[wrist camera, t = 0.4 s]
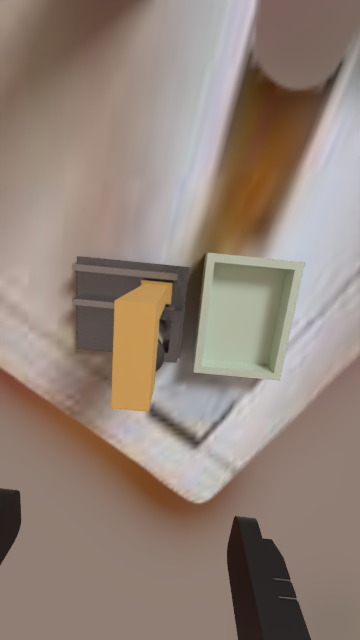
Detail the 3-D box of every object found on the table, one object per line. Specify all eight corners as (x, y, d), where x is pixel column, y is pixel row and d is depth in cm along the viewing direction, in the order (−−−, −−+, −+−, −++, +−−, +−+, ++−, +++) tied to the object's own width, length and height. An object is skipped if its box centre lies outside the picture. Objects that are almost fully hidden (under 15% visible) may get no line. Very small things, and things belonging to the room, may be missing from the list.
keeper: (143, 279, 32) (107, 294, 17) (172, 282, 32) (163, 299, 17) (139, 343, 34) (105, 407, 19) (167, 346, 35) (154, 412, 19)
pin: (140, 313, 34) (123, 334, 24) (170, 316, 34) (165, 338, 24) (139, 341, 35) (121, 373, 25) (168, 344, 35) (162, 376, 25)
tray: (205, 253, 33) (207, 252, 30) (292, 262, 33) (304, 262, 30) (192, 362, 37) (193, 372, 33) (271, 369, 37) (279, 380, 33)
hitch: (80, 256, 33) (67, 255, 29) (189, 267, 33) (189, 268, 29) (80, 345, 36) (68, 355, 32) (180, 355, 36) (179, 366, 32)
